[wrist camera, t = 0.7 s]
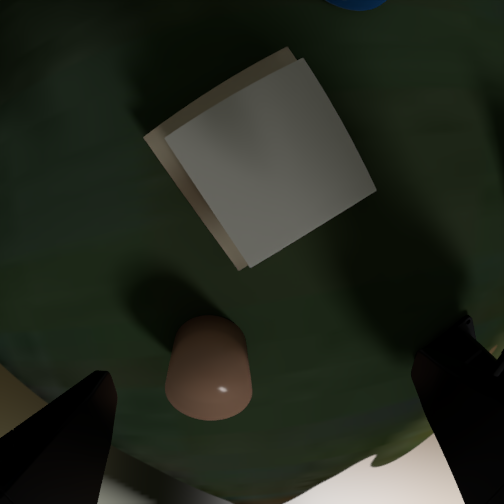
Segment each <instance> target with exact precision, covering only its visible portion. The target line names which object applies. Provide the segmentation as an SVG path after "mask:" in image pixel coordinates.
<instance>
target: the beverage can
mask: <svg viewBox="0 0 504 504" xmlns="http://www.w3.org/2000/svg"><path fill="white" fill-rule="evenodd" d="M325 1H327V2H329V3H331V4H333V5H335V6H338V7H341V8H344V9H348V10H355V11H364V10H370V9H374V8H376V7H378V6H380V5H381V4H382V3H384V2H385V1H386V0H325Z"/></svg>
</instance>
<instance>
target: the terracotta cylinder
mask: <svg viewBox="0 0 504 504" xmlns="http://www.w3.org/2000/svg"><path fill="white" fill-rule="evenodd" d="M165 392H166V395H167V398H168V400H169V401H170V403H171V404H172V405H173V406H174V407H175V408H176V409H177V410H179V411H180V412H182V413H183V414H185V415H187V416H190V417H192V418H196V419H200V420H221V419H226V418H229V417H232V416H234V415H236V414H238V413H239V412H241V411H242V410H243V409H244V408H245V407H246V406H247V405H248V403H249V402H250V399H251V396H252V384H251V377H250V369H249V361H248V353H247V345H246V339H245V336H244V334H243V332H242V331H241V329H240V328H239V327H238V326H237V325H236V324H234V323H233V322H232V321H230V320H228V319H226V318H223V317H220V316H214V315H204V316H198V317H195V318H192V319H190V320H188V321H187V322H185V323H184V324H183V325H182V326H181V327H180V328H179V330H178V331H177V333H176V336H175V340H174V344H173V349H172V354H171V359H170V363H169V368H168V373H167V378H166V384H165Z"/></svg>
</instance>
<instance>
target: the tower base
mask: <svg viewBox="0 0 504 504" xmlns="http://www.w3.org/2000/svg"><path fill="white" fill-rule="evenodd" d="M295 61H297V59H296V58H295V57H294V55H293V54H292V52H291V51H290V50H289V48H288V47H285V48H283V49H281V50H280V51H278V52H276V53H274V54H272V55H270V56H268V57H266V58H264V59H263V60H261V61H259V62H257V63H255V64H254V65H252V66H250V67H248V68H246V69H245V70H243V71H241V72H240V73H238V74H236V75H234V76H233V77H231V78H229V79H228V80H226V81H225V82H223V83H221V84H220V85H218V86H216V87H215V88H213V89H212V90H210V91H209V92H207V93H205V94H204V95H202V96H201V97H199V98H198V99H196V100H195V101H193V102H192V103H190V104H189V105H187V106H186V107H184V108H183V109H181V110H180V111H179V112H177V113H176V114H174V115H173V116H171V117H170V118H169V119H167V120H166V121H164V122H163V123H162V124H160V125H159V126H158V127H156V128H155V129H154V130H152V131H151V132H150V133H148V134H147V135H146V136H144V137H143V138H144V139H145V141H146V142H147V143H148V145H149V146H150V148H151V149H152V151H153V152H154V153H155V155H156V156H157V158H158V159H159V161H160V162H161V163H162V165H163V166H164V168H165V169H166V170H167V172H168V173H169V175H170V176H171V178H172V179H173V180H174V182H175V183H176V185H177V186H178V187H179V189H180V190H181V192H182V193H183V194H184V196H185V197H186V199H187V200H188V201H189V203H190V204H191V206H192V207H193V208H194V210H195V211H196V213H197V214H198V215H199V217H200V218H201V219H202V221H203V222H204V224H205V225H206V226H207V228H208V229H209V231H210V232H211V233H212V235H213V236H214V237H215V239H216V240H217V242H218V243H219V244H220V246H221V247H222V248H223V250H224V251H225V253H226V254H227V255H228V257H229V258H230V259H231V261H232V262H233V263H234V265H235V266H236V268H237V269H238V270H241V269H243V268H244V267H246V266H247V265H248V264H247V262H246V261H245V259H244V258H243V256H242V255H241V253H240V252H239V250H238V249H237V247H236V246H235V244H234V243H233V241H232V240H231V238H230V237H229V235H228V234H227V232H226V231H225V229H224V228H223V226H222V225H221V223H220V222H219V220H218V219H217V217H216V216H215V214H214V213H213V211H212V210H211V208H210V207H209V205H208V204H207V202H206V201H205V199H204V198H203V196H202V195H201V193H200V192H199V190H198V189H197V187H196V186H195V184H194V183H193V181H192V180H191V178H190V177H189V175H188V174H187V172H186V171H185V169H184V168H183V166H182V165H181V163H180V162H179V160H178V159H177V157H176V156H175V154H174V153H173V151H172V150H171V148H170V147H169V145H168V143H167V142H166V140H165V139H164V138H165V137H166V136H168V135H169V134H171V133H172V132H174V131H175V130H177V129H178V128H180V127H181V126H183V125H184V124H186V123H187V122H189V121H190V120H192V119H194V118H195V117H197V116H198V115H200V114H201V113H203V112H205V111H206V110H208V109H210V108H211V107H213V106H214V105H216V104H218V103H219V102H221V101H223V100H224V99H226V98H228V97H230V96H231V95H233V94H235V93H236V92H238V91H240V90H242V89H244V88H245V87H247V86H249V85H251V84H253V83H254V82H256V81H258V80H260V79H262V78H264V77H266V76H267V75H269V74H271V73H273V72H275V71H277V70H279V69H281V68H283V67H285V66H287V65H289V64H291V63H293V62H295Z"/></svg>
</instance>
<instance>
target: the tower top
mask: <svg viewBox="0 0 504 504" xmlns="http://www.w3.org/2000/svg"><path fill="white" fill-rule="evenodd" d="M164 139H165V140H166V142H167V143H168V145H169V147H170V148H171V150H172V151H173V153H174V154H175V156H176V157H177V159H178V160H179V162H180V163H181V165H182V166H183V168H184V169H185V171H186V172H187V174H188V175H189V177H190V178H191V180H192V181H193V183H194V184H195V186H196V187H197V189H198V190H199V192H200V193H201V195H202V196H203V198H204V199H205V201H206V202H207V204H208V205H209V207H210V208H211V210H212V211H213V213H214V214H215V216H216V217H217V219H218V220H219V222H220V223H221V225H222V226H223V228H224V229H225V231H226V232H227V234H228V235H229V237H230V238H231V240H232V241H233V243H234V244H235V246H236V247H237V249H238V250H239V252H240V253H241V255H242V256H243V258H244V259H245V261H246V262H247V264H248V265H249V267H250V268H251V267H253V266H255V265H256V264H258V263H260V262H261V261H263V260H265V259H266V258H268V257H270V256H271V255H273V254H275V253H276V252H278V251H279V250H281V249H283V248H284V247H286V246H288V245H289V244H291V243H293V242H294V241H296V240H297V239H299V238H301V237H302V236H304V235H306V234H307V233H309V232H311V231H312V230H314V229H315V228H317V227H319V226H320V225H322V224H324V223H325V222H327V221H328V220H330V219H332V218H333V217H335V216H337V215H338V214H340V213H341V212H343V211H345V210H346V209H348V208H349V207H351V206H353V205H354V204H356V203H357V202H359V201H361V200H362V199H364V198H366V197H367V196H369V195H370V194H372V193H374V192H375V191H377V190H376V188H375V185H374V183H373V181H372V179H371V177H370V175H369V173H368V171H367V169H366V167H365V165H364V163H363V161H362V159H361V157H360V155H359V153H358V151H357V149H356V147H355V145H354V143H353V141H352V139H351V137H350V136H349V134H348V132H347V130H346V128H345V126H344V125H343V123H342V121H341V119H340V117H339V116H338V114H337V112H336V110H335V109H334V107H333V105H332V103H331V102H330V100H329V98H328V97H327V95H326V93H325V92H324V90H323V88H322V87H321V85H320V83H319V82H318V80H317V79H316V77H315V75H314V74H313V72H312V71H311V69H310V67H309V66H308V64H307V63H306V61H305V60H304V58H301V59H299V60H297V61H295V62H293V63H291V64H289V65H287V66H285V67H283V68H281V69H279V70H277V71H275V72H273V73H271V74H269V75H267V76H266V77H264V78H262V79H260V80H258V81H256V82H254V83H253V84H251V85H249V86H247V87H245V88H244V89H242V90H240V91H238V92H236V93H235V94H233V95H231V96H230V97H228V98H226V99H224V100H223V101H221V102H219V103H218V104H216V105H214V106H213V107H211V108H210V109H208V110H206V111H205V112H203V113H201V114H200V115H198V116H197V117H195V118H194V119H192V120H190V121H189V122H187V123H186V124H184V125H183V126H181V127H180V128H178V129H177V130H175V131H174V132H172V133H171V134H169V135H168V136H166V137H165V138H164Z"/></svg>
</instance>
